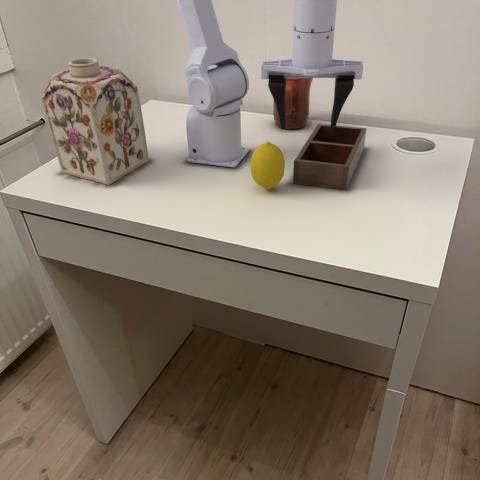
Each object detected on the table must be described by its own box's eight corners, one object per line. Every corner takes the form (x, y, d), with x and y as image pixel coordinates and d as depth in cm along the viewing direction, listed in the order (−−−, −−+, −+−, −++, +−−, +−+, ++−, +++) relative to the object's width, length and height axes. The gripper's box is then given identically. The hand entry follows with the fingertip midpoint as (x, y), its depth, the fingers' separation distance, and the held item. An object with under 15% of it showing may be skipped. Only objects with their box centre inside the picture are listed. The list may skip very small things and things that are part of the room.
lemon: (249, 183, 86) (248, 136, 80) (281, 180, 86) (282, 134, 81) (252, 198, 82) (252, 150, 76) (286, 195, 82) (288, 148, 77)
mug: (273, 116, 110) (273, 65, 103) (313, 117, 108) (316, 66, 101) (264, 137, 101) (264, 83, 94) (307, 139, 99) (311, 84, 93)
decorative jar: (60, 173, 91) (29, 65, 79) (103, 150, 98) (81, 48, 87) (110, 187, 86) (85, 74, 74) (151, 161, 94) (135, 55, 82)
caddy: (292, 183, 85) (293, 160, 83) (316, 144, 97) (318, 123, 95) (346, 190, 83) (349, 167, 80) (363, 149, 95) (366, 128, 92)
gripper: (259, 35, 67) (259, 136, 76) (369, 34, 66) (356, 137, 75) (263, 24, 72) (263, 119, 81) (365, 23, 71) (354, 120, 80)
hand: (307, 127), depth 78 cm, fingers open, 7 cm apart
